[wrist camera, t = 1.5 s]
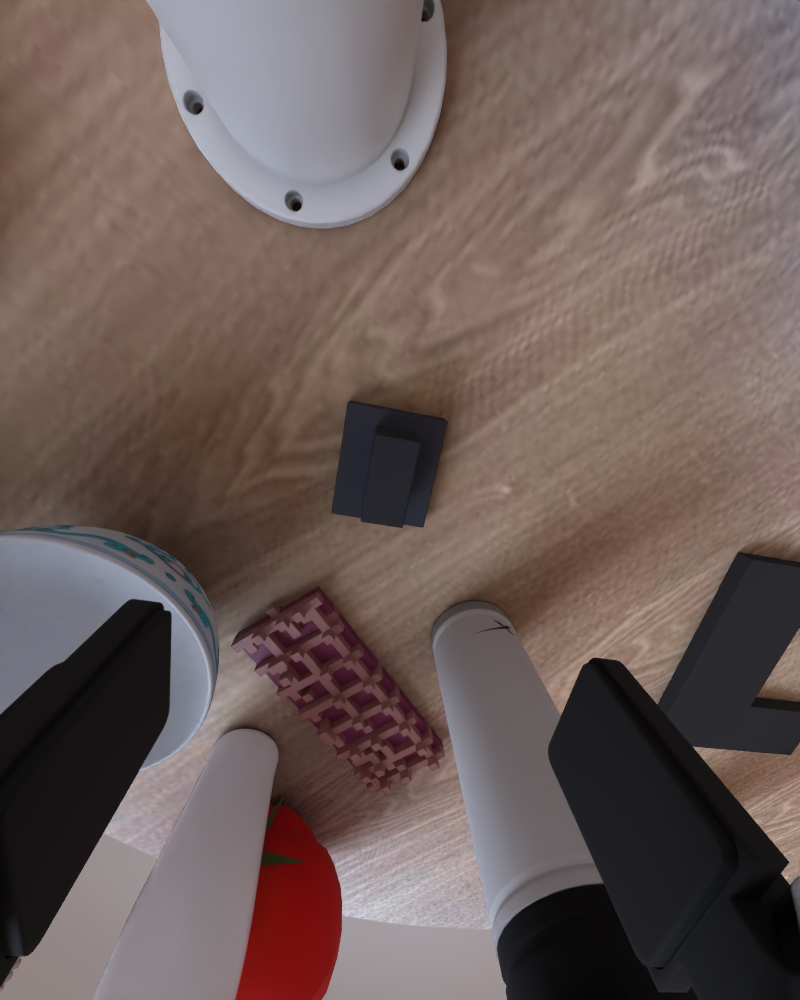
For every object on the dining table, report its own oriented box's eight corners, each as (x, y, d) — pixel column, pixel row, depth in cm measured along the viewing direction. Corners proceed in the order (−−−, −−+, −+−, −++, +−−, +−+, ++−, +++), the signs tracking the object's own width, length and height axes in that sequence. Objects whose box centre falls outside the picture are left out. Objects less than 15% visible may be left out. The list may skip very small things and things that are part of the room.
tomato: (369, 912, 35) (364, 794, 32) (282, 1199, 23) (258, 1054, 19) (228, 855, 40) (211, 747, 37) (90, 1067, 27) (44, 931, 24)
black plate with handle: (349, 400, 23) (344, 407, 20) (444, 418, 24) (459, 429, 20) (333, 507, 26) (325, 533, 22) (421, 521, 26) (429, 549, 22)
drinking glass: (305, 752, 33) (255, 1047, 19) (244, 788, 34) (152, 1095, 20) (250, 704, 31) (147, 996, 17) (186, 744, 32) (37, 1053, 17)
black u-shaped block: (737, 551, 29) (752, 559, 28) (891, 577, 31) (911, 585, 30) (643, 730, 35) (652, 743, 34) (777, 743, 36) (790, 755, 35)
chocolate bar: (313, 580, 27) (309, 595, 26) (442, 742, 33) (446, 764, 32) (231, 627, 28) (221, 646, 26) (371, 777, 34) (371, 801, 32)
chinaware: (287, 644, 29) (258, 739, 22) (98, 698, 29) (8, 809, 22) (194, 454, 24) (115, 494, 16) (-32, 524, 24) (-205, 593, 17)
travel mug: (490, 582, 28) (722, 1013, 10) (522, 646, 31) (762, 1100, 12) (414, 618, 29) (491, 1090, 10) (450, 678, 31) (570, 1159, 12)
